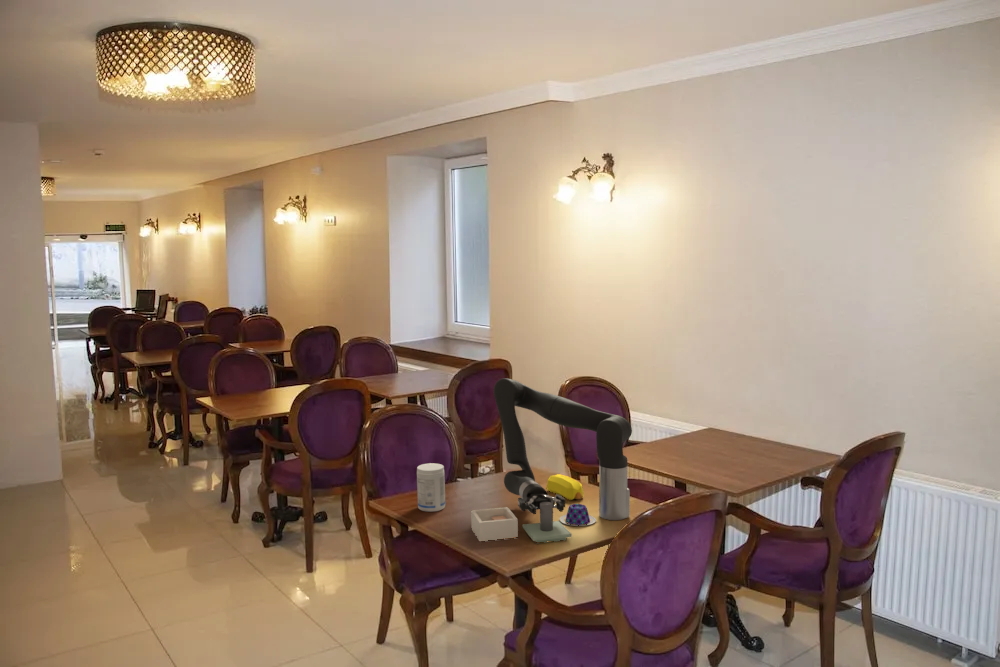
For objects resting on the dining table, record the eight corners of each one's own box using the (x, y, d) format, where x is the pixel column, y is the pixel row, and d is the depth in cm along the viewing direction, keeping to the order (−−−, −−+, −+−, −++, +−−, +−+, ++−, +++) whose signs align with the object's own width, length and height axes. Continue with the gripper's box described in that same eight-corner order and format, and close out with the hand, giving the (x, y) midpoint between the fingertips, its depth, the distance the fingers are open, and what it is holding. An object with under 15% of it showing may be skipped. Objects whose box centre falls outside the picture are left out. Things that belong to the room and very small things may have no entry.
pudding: (555, 516, 256) (555, 501, 256) (590, 514, 258) (590, 499, 257) (563, 529, 244) (563, 513, 244) (600, 526, 246) (600, 511, 245)
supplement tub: (435, 502, 272) (434, 461, 271) (450, 508, 265) (450, 466, 263) (412, 507, 266) (411, 466, 265) (427, 514, 259) (426, 471, 257)
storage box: (507, 525, 247) (507, 507, 247) (517, 538, 236) (517, 519, 235) (471, 528, 245) (471, 510, 244) (479, 541, 233) (479, 522, 232)
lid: (558, 528, 244) (558, 496, 243) (571, 541, 233) (571, 508, 232) (522, 532, 242) (522, 499, 241) (533, 545, 230) (533, 511, 229)
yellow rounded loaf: (558, 487, 289) (541, 490, 285) (558, 469, 288) (541, 473, 284) (588, 499, 274) (571, 503, 270) (588, 481, 273) (571, 484, 269)
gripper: (512, 484, 248) (526, 499, 232) (553, 481, 252) (570, 495, 236) (512, 507, 249) (526, 524, 233) (553, 503, 252) (570, 519, 237)
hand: (548, 509), depth 235 cm, fingers open, 8 cm apart
